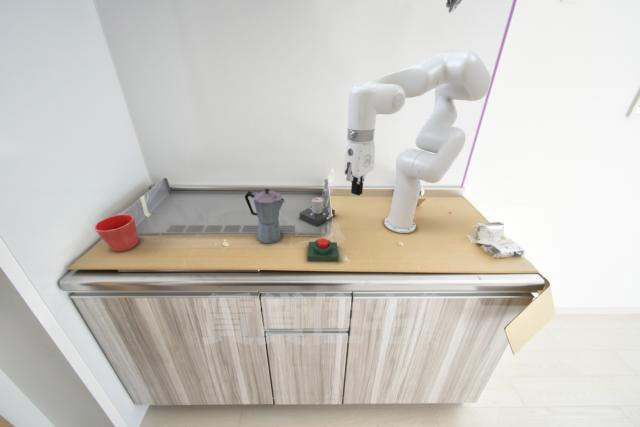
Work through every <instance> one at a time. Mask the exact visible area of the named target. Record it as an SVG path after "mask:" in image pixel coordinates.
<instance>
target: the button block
mask: <svg viewBox="0 0 640 427" xmlns="http://www.w3.org/2000/svg"><path fill="white" fill-rule="evenodd" d="M318 240H319V239H317V240H315V241H308V246H307V262H325V263H327V262H328V263H329V262H330V263H331V262H333V263H334V262H335V263H338V262H339V250H338V242H337V241H331V240H329V239H327V240H328V247H327V248H319V247H318Z"/></svg>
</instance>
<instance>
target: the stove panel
mask: <svg viewBox="0 0 640 427" xmlns="http://www.w3.org/2000/svg"><path fill="white" fill-rule="evenodd" d="M327 207H328V206H326V205H323V212H322V213H320V214H315V213H313V212H312V206H310V207H307V208H306V209H304V210H302V211H300V212H299V220H302V221H304V222H306V223H309V224H310V225H312V226H315V227H319V226H321V225H323V224H324V223H326V222H328V220H327V219H326V218H327V217H328V215H329V212H328V210H327ZM331 209H332V214H333V217H332V218H334V217H335V216H336V209H334V208H331Z"/></svg>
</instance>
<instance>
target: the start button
mask: <svg viewBox="0 0 640 427" xmlns="http://www.w3.org/2000/svg"><path fill="white" fill-rule="evenodd" d="M317 240H318V247H319V248H327V247H328V240H329V239H327V238H324V237H323V238H319V239H317Z"/></svg>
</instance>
